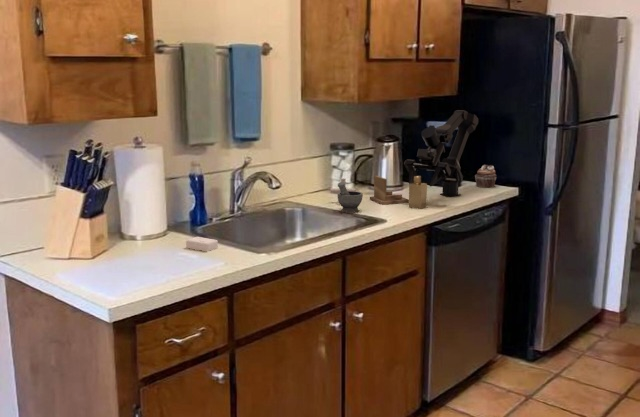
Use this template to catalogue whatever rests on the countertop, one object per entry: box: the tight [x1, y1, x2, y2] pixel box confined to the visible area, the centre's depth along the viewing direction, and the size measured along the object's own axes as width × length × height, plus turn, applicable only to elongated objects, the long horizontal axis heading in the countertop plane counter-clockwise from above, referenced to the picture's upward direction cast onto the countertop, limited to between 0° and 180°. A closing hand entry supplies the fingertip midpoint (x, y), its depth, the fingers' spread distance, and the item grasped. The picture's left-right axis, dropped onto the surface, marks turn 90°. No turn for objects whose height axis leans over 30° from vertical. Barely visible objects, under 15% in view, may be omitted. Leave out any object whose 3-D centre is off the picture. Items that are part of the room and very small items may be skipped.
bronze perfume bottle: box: [408, 175, 428, 210], centre depth 264 cm, size 4×6×12 cm
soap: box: [185, 236, 219, 252], centre depth 209 cm, size 9×6×3 cm, turn 58°
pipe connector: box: [330, 177, 357, 194], centre depth 274 cm, size 10×10×10 cm
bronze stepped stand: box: [369, 175, 409, 206], centre depth 276 cm, size 12×12×10 cm
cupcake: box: [474, 164, 497, 189], centre depth 307 cm, size 10×10×10 cm
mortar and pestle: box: [337, 181, 364, 213], centre depth 258 cm, size 11×9×12 cm
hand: (419, 184), depth 264 cm, fingers open, 9 cm apart
